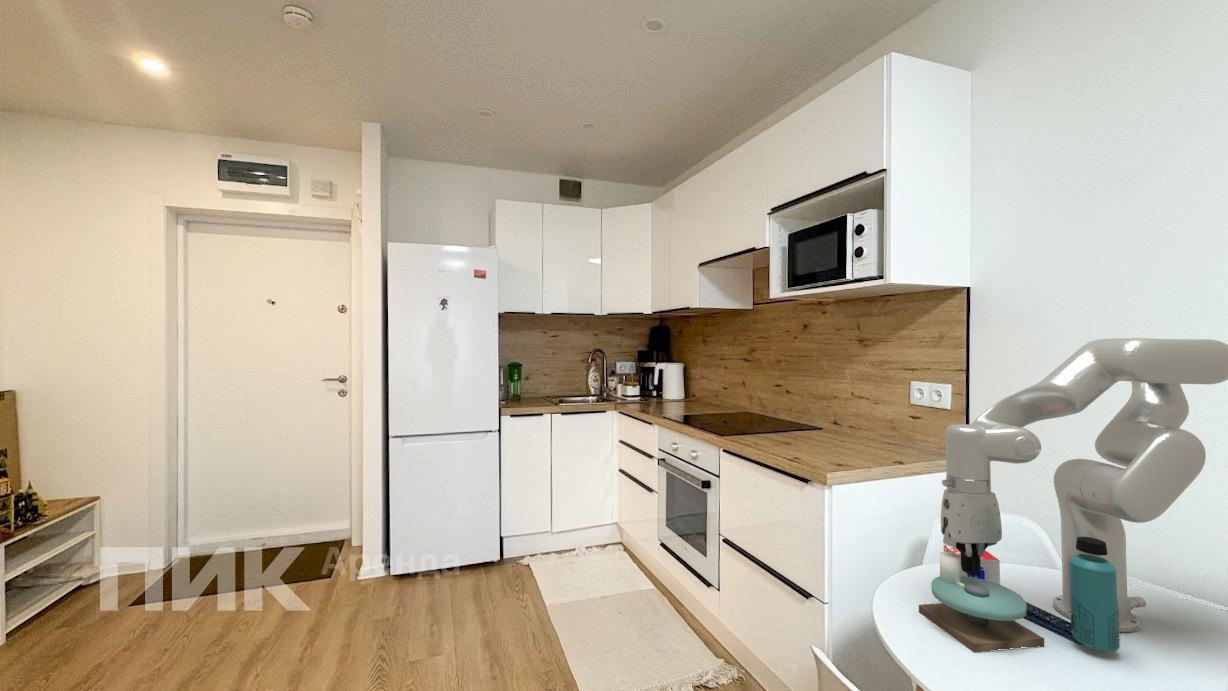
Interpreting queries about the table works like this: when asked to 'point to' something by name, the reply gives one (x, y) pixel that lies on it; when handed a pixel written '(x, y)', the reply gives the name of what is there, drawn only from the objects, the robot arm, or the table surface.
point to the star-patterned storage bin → (982, 566)
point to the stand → (980, 629)
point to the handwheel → (975, 593)
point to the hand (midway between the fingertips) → (970, 573)
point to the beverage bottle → (1094, 597)
